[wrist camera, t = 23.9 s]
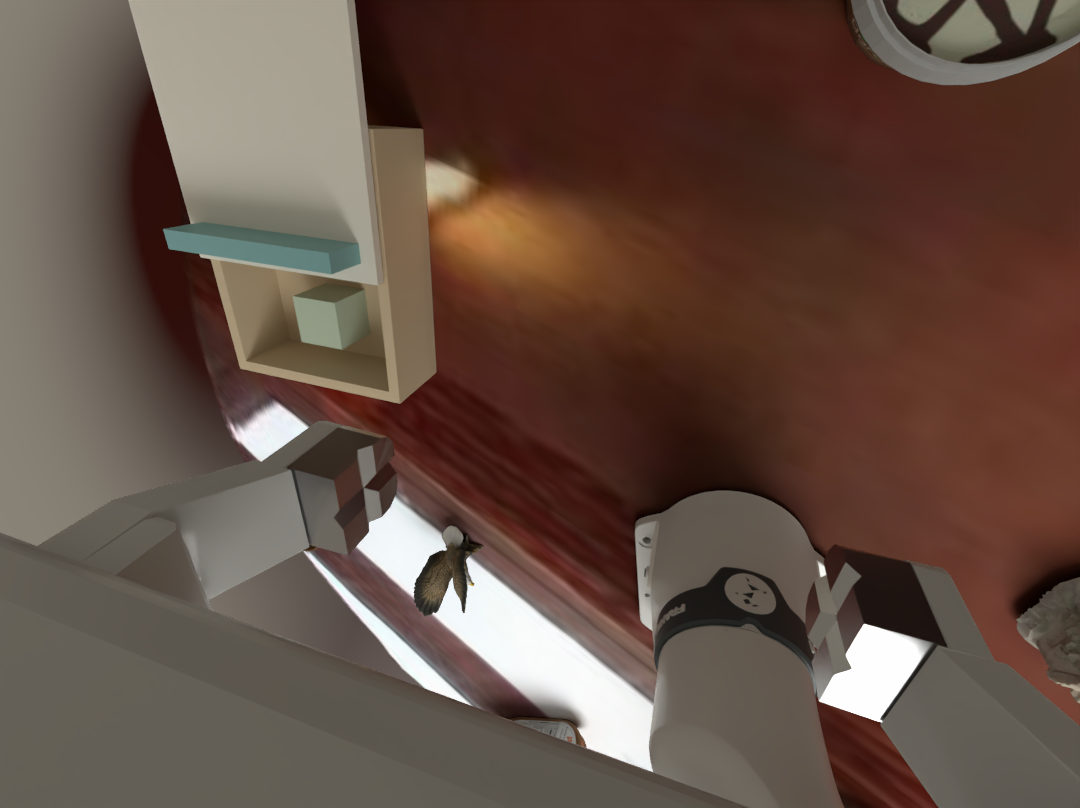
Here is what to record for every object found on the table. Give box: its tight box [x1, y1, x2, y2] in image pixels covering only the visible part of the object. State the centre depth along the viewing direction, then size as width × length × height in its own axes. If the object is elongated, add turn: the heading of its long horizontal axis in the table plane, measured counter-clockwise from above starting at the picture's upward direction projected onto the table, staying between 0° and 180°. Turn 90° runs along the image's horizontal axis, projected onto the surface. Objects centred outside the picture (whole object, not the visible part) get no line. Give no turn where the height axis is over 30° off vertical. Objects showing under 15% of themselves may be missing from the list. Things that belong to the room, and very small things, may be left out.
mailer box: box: [211, 125, 436, 404], centre depth 45 cm, size 22×18×7 cm
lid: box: [128, 0, 384, 285], centre depth 35 cm, size 22×18×4 cm
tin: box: [510, 717, 586, 748], centre depth 72 cm, size 15×3×8 cm, turn 114°
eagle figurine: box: [414, 525, 483, 617], centre depth 59 cm, size 8×7×9 cm
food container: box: [847, 0, 1080, 85], centre depth 25 cm, size 12×6×10 cm, turn 66°
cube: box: [293, 283, 370, 350], centre depth 48 cm, size 4×4×4 cm
